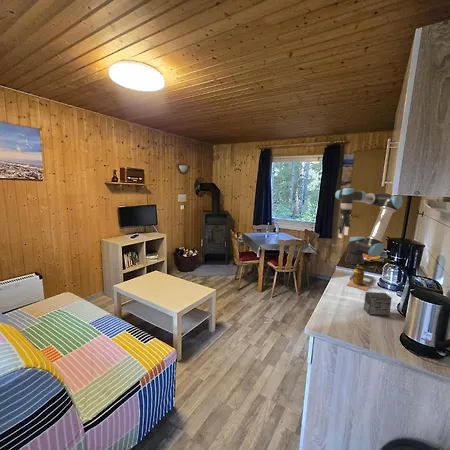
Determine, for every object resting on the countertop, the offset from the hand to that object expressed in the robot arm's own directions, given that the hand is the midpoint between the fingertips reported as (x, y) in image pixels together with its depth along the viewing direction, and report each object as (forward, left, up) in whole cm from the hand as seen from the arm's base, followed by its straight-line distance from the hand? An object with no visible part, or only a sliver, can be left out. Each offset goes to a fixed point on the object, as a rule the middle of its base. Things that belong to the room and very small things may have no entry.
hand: (343, 236), depth 182 cm
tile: (+18, +18, -29) cm, 38 cm away
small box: (+50, +34, -29) cm, 67 cm away
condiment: (+18, +18, -28) cm, 38 cm away
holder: (+5, +17, -29) cm, 34 cm away
